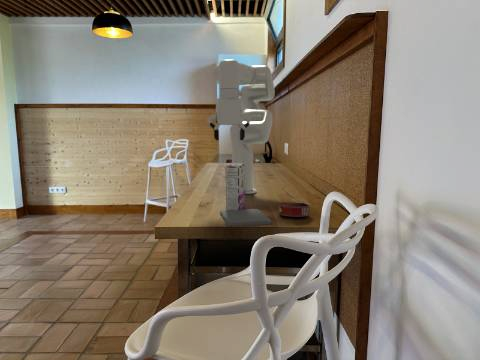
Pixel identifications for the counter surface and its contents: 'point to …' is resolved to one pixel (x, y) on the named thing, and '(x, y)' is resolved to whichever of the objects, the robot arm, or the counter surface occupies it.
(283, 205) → the canned food
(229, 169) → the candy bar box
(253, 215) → the mat
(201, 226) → the counter surface
